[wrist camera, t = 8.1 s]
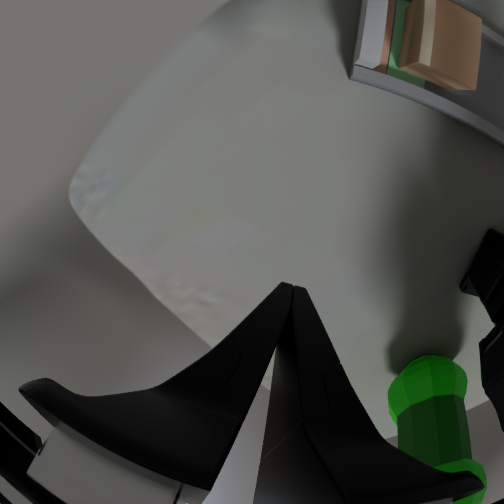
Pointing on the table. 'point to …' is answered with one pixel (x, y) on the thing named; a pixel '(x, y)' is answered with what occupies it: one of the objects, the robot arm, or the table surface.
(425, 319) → the table surface
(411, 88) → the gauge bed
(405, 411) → the plastic bottle
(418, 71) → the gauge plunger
